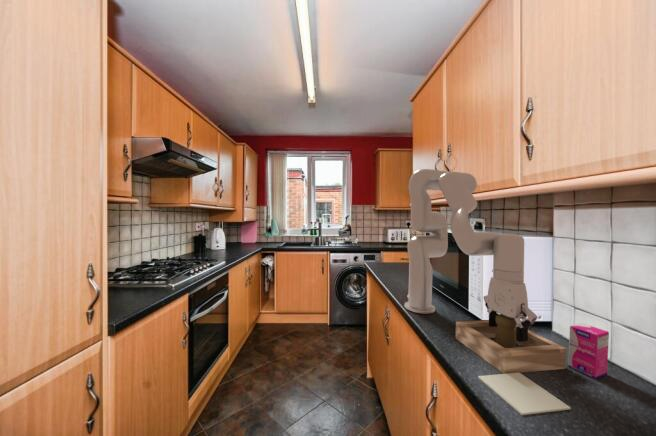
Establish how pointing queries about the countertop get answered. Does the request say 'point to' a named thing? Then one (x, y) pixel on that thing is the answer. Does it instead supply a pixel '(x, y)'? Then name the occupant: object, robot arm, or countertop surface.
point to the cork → (505, 331)
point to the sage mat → (523, 393)
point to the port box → (511, 349)
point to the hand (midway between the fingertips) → (506, 333)
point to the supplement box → (588, 350)
